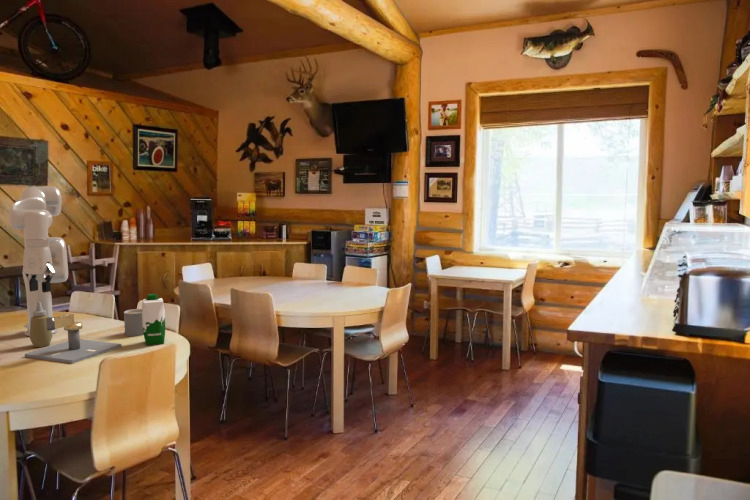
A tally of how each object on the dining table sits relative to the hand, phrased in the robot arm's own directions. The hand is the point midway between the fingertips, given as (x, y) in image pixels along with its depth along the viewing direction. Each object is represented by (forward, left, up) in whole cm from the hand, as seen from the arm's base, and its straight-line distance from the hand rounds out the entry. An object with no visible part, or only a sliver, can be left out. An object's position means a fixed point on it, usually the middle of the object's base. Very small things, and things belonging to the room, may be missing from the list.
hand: (40, 290), depth 220 cm
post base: (+5, +9, -26) cm, 28 cm away
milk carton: (+25, +31, -26) cm, 48 cm away
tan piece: (+5, +5, -16) cm, 18 cm away
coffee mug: (+8, +42, -26) cm, 50 cm away
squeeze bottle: (-15, +11, -26) cm, 31 cm away
